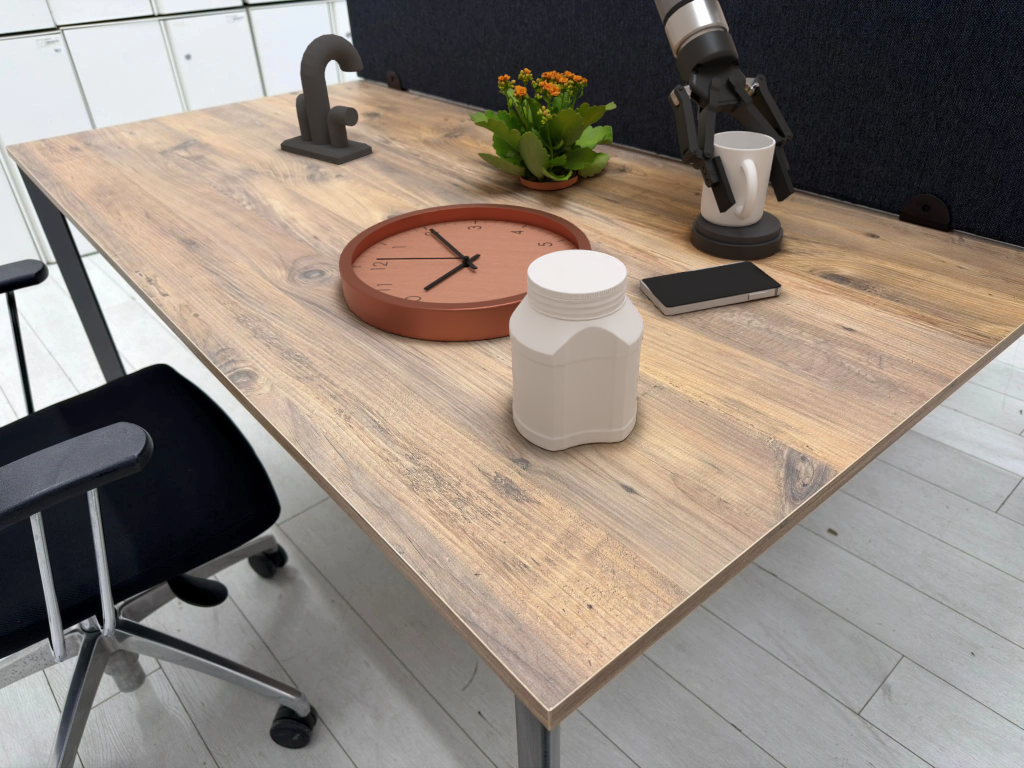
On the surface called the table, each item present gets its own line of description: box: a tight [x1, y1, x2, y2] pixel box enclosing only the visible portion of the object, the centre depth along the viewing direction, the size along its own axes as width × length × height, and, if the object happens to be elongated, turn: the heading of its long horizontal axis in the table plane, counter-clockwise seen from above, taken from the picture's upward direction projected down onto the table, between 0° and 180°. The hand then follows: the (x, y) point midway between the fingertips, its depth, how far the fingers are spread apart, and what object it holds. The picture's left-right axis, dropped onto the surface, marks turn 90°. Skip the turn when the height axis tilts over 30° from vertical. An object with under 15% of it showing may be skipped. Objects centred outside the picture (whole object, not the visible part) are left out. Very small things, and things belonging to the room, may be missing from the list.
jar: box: [509, 250, 645, 452], centre depth 64 cm, size 12×10×15 cm
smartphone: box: [639, 260, 783, 316], centre depth 87 cm, size 8×1×15 cm
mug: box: [700, 130, 776, 227], centre depth 94 cm, size 12×8×10 cm
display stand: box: [689, 210, 784, 261], centre depth 98 cm, size 12×12×3 cm
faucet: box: [279, 33, 373, 165], centre depth 136 cm, size 18×16×20 cm
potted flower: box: [468, 67, 617, 191], centre depth 116 cm, size 25×24×18 cm
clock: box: [338, 202, 592, 342], centre depth 91 cm, size 31×4×31 cm
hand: (757, 202), depth 92 cm, fingers closed on mug, 8 cm apart
